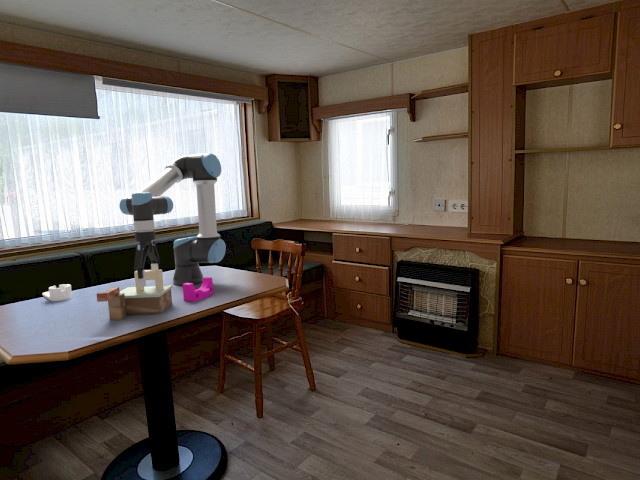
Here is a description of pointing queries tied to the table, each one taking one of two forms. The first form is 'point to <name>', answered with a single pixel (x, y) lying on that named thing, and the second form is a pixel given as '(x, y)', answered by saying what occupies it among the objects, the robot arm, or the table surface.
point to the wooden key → (108, 294)
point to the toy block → (198, 290)
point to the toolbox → (137, 305)
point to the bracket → (59, 293)
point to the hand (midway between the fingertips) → (149, 282)
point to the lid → (149, 290)
